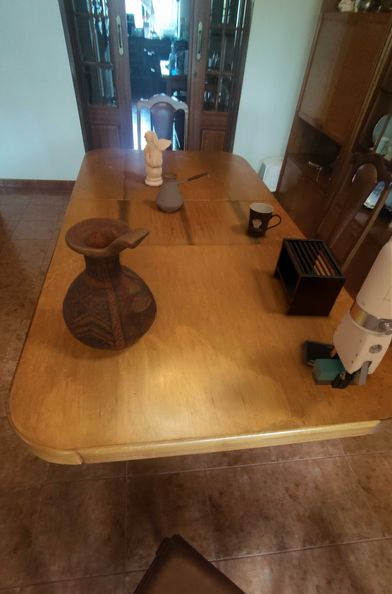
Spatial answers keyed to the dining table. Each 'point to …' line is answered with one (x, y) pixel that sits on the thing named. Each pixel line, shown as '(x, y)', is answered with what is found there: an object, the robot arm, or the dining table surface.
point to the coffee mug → (260, 219)
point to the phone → (316, 351)
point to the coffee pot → (172, 191)
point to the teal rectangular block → (327, 371)
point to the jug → (107, 287)
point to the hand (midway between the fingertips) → (335, 378)
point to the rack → (308, 277)
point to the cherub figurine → (154, 158)
